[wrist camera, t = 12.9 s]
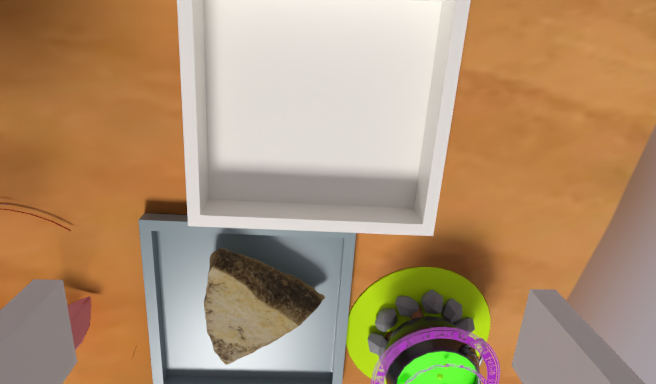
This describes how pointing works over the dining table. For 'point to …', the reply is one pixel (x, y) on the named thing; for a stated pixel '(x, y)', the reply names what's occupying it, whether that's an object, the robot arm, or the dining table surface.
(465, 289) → the toy cauldron
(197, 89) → the dish
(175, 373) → the tray
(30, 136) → the dining table surface
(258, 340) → the rock
